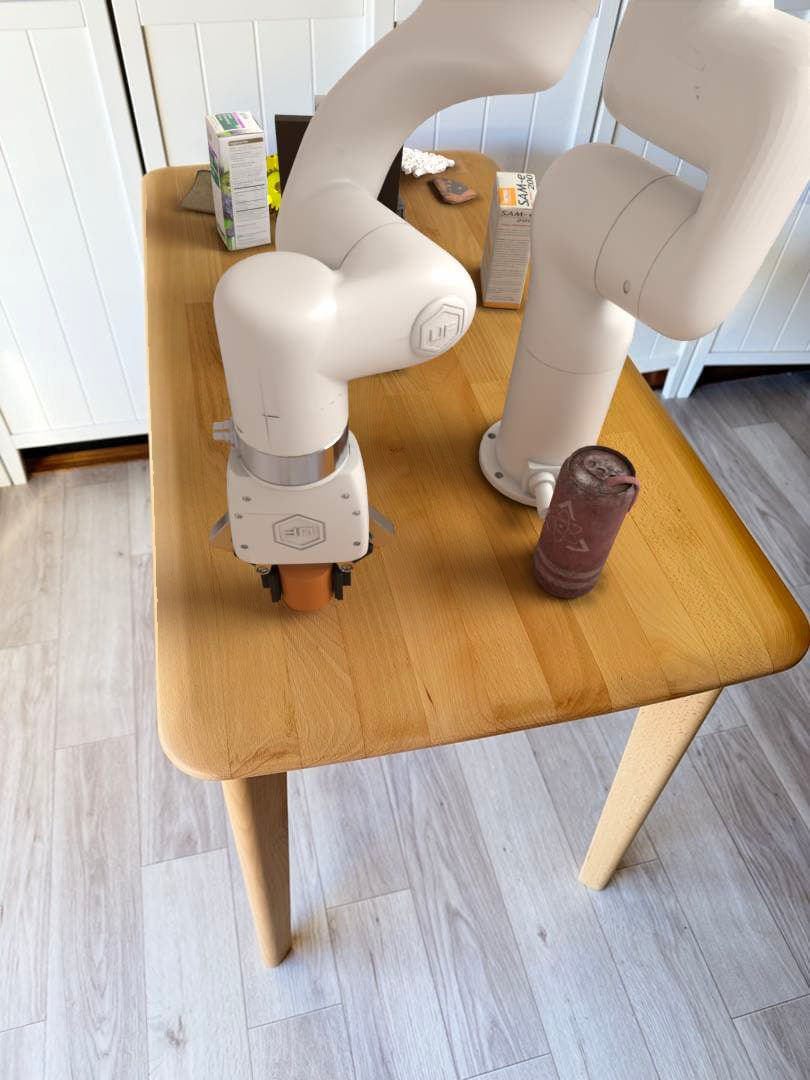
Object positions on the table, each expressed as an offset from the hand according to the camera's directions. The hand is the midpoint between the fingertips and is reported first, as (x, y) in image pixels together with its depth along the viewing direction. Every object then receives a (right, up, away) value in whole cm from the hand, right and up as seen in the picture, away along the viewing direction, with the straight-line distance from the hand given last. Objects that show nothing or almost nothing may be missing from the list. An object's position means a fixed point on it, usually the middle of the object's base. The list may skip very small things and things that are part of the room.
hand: (308, 585), depth 69 cm
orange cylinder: (0, 0, 0) cm, 0 cm away
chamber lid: (+1, +41, +16) cm, 45 cm away
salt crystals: (+4, +57, +45) cm, 73 cm away
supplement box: (+20, +35, +33) cm, 52 cm away
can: (+23, +1, +6) cm, 24 cm away
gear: (-4, +52, +36) cm, 63 cm away
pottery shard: (+18, +54, +47) cm, 74 cm away
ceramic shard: (-17, +52, +40) cm, 67 cm away
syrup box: (-13, +43, +37) cm, 58 cm away
